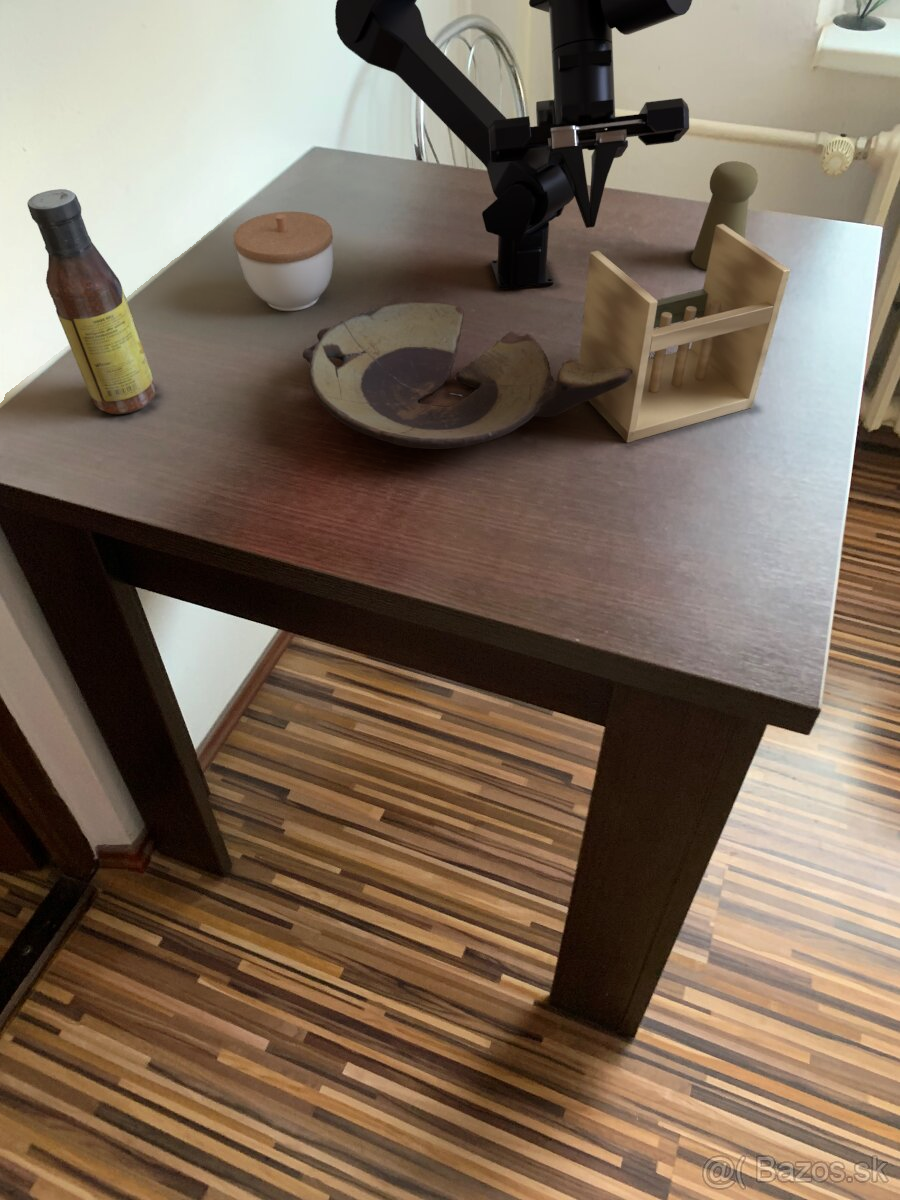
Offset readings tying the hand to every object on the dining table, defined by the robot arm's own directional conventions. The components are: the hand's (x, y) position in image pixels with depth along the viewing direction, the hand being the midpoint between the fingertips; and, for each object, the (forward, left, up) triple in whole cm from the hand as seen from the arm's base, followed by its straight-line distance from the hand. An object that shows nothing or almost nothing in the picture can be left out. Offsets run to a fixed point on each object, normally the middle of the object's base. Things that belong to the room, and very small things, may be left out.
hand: (590, 227), depth 88 cm
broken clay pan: (+14, -16, -11) cm, 24 cm away
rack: (+14, +5, -11) cm, 19 cm away
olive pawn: (-13, +20, -11) cm, 27 cm away
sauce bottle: (+6, -48, -11) cm, 50 cm away
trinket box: (-12, -31, -11) cm, 35 cm away
